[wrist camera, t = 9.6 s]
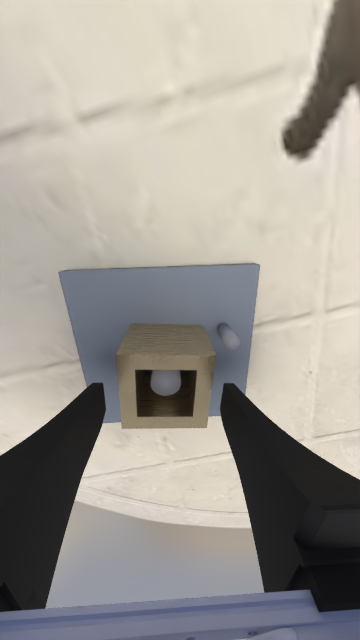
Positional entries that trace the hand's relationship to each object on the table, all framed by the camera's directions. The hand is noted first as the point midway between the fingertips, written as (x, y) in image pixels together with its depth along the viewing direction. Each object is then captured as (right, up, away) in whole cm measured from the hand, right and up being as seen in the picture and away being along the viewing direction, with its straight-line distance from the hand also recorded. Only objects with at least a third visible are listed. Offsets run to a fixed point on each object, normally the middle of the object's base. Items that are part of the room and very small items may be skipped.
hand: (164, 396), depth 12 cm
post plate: (0, +2, +5) cm, 6 cm away
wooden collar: (0, +2, +4) cm, 5 cm away
